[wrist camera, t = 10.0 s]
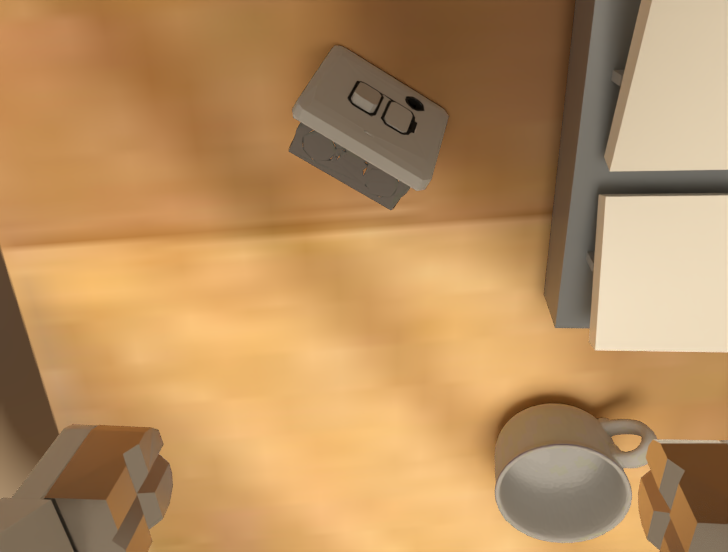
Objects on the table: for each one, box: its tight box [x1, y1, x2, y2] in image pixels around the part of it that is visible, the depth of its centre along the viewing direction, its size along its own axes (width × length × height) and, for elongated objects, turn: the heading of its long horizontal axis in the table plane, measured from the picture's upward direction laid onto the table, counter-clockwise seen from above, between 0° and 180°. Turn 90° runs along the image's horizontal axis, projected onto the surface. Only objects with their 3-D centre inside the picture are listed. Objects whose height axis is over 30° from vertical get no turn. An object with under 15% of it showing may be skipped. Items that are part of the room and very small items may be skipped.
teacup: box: [495, 403, 657, 543], centre depth 52 cm, size 14×11×8 cm
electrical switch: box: [288, 45, 449, 210], centre depth 39 cm, size 9×5×9 cm, turn 60°
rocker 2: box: [589, 193, 728, 352], centre depth 38 cm, size 10×11×2 cm
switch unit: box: [544, 0, 728, 328], centre depth 39 cm, size 24×14×7 cm, turn 3°
